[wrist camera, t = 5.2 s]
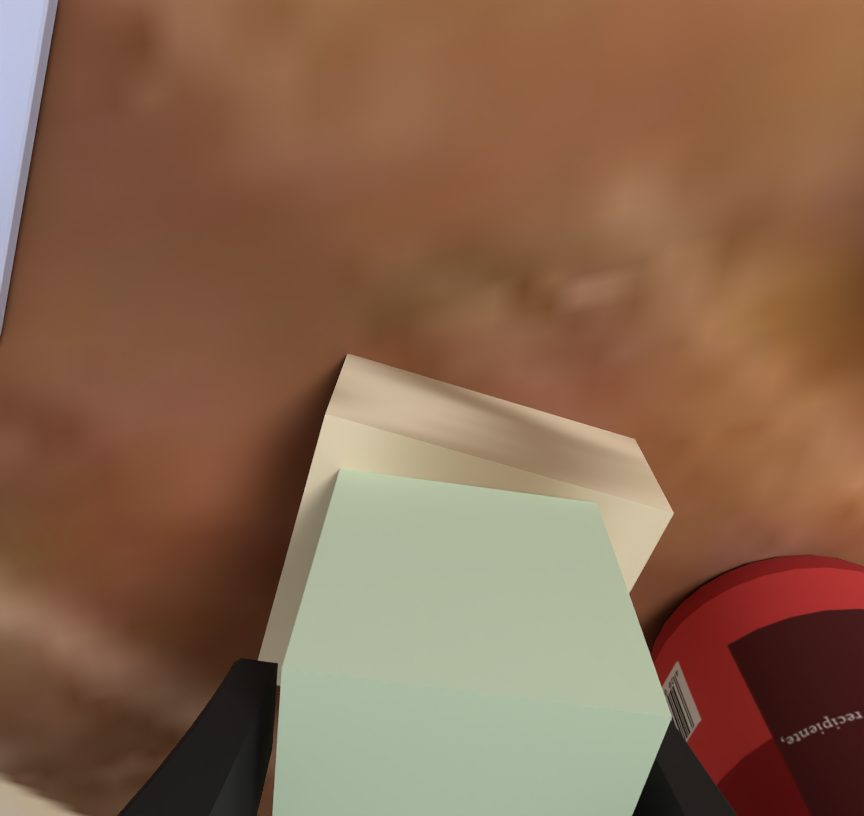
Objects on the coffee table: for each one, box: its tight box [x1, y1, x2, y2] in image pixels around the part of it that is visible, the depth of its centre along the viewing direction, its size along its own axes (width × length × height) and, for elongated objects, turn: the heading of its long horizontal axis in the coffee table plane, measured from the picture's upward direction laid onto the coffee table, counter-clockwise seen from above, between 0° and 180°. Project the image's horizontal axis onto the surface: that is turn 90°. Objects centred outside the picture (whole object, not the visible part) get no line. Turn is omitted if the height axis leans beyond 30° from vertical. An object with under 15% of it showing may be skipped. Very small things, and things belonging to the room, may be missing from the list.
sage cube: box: [272, 468, 672, 816], centre depth 12 cm, size 5×5×5 cm
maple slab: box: [258, 354, 674, 686], centre depth 16 cm, size 7×7×4 cm
